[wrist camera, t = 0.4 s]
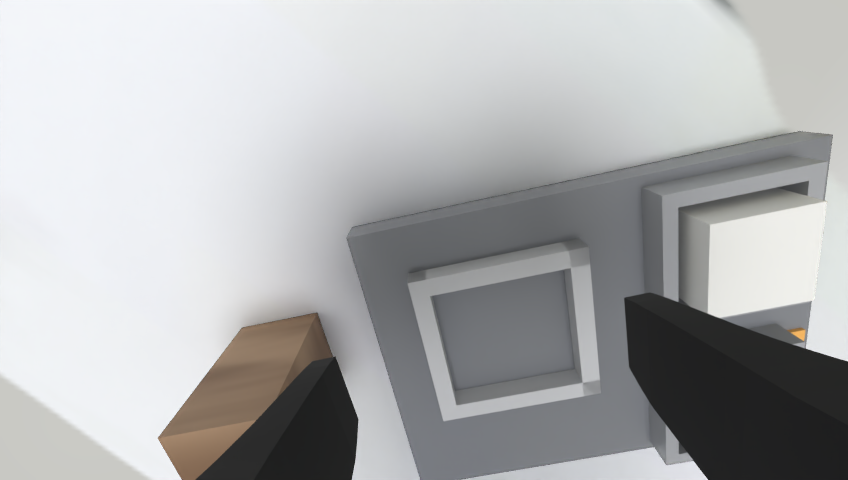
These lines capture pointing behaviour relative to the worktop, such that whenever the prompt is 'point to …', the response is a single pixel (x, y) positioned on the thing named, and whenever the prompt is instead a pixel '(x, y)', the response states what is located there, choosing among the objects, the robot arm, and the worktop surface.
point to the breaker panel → (582, 298)
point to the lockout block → (241, 389)
